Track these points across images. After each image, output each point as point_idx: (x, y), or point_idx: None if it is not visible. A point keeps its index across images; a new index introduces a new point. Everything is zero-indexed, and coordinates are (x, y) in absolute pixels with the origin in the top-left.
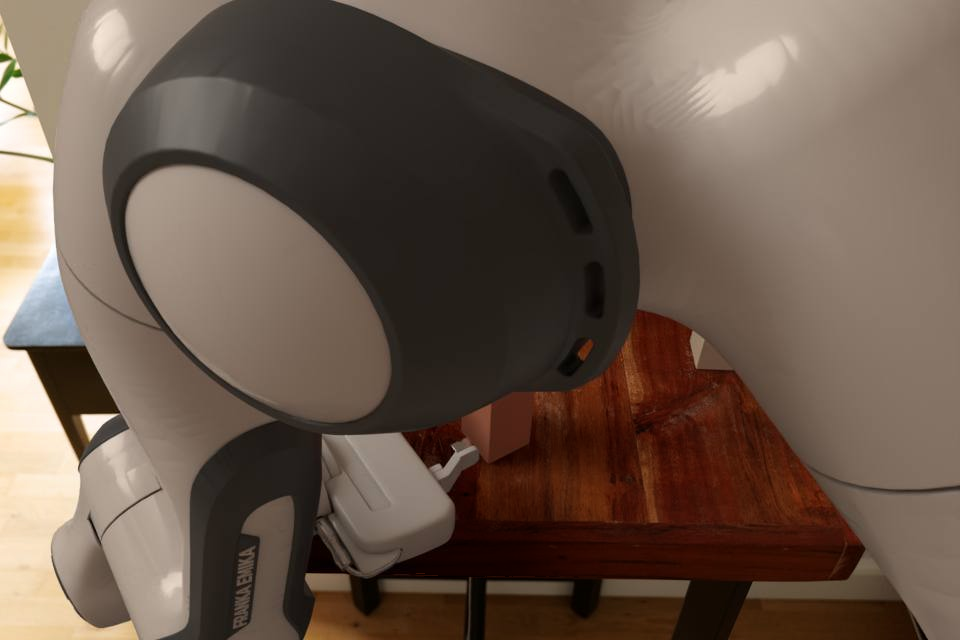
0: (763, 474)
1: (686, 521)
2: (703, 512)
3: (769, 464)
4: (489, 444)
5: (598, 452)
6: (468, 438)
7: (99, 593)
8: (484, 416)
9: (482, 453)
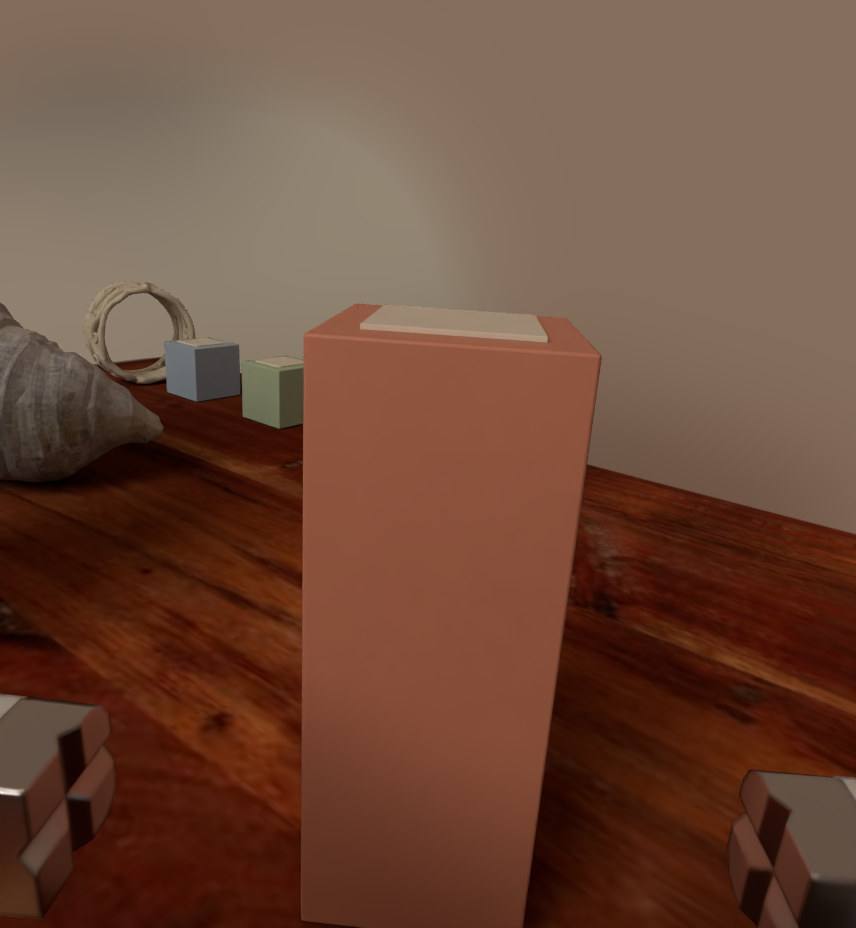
0: (800, 564)
1: None
2: None
3: (778, 551)
4: (533, 840)
5: (634, 689)
6: (759, 770)
7: None
8: (501, 713)
9: (475, 922)
